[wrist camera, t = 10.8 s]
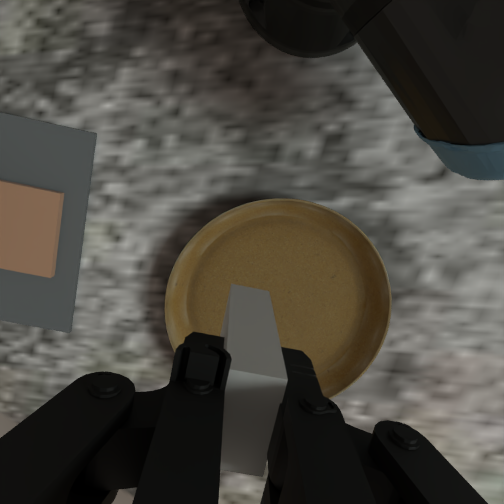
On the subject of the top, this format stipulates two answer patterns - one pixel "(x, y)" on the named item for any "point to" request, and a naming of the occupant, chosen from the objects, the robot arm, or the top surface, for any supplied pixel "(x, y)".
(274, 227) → the plant saucer
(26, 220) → the tile
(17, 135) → the mat
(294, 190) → the top surface
